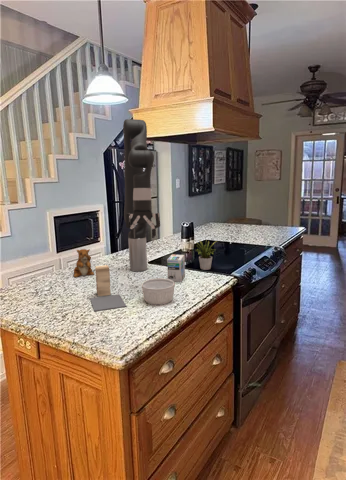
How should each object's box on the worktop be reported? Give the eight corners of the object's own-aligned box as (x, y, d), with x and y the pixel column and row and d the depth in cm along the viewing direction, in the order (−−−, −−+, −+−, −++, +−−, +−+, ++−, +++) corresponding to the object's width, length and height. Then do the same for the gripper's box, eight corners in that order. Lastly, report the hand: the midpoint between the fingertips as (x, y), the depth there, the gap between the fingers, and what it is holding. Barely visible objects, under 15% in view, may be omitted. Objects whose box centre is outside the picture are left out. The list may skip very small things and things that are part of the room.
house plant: (185, 270, 176) (185, 239, 173) (194, 264, 189) (194, 235, 186) (212, 273, 171) (212, 241, 168) (219, 266, 184) (219, 236, 181)
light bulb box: (181, 282, 158) (181, 259, 156) (167, 281, 159) (166, 259, 157) (185, 275, 168) (185, 254, 166) (171, 275, 170) (171, 254, 168)
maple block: (97, 293, 145) (95, 266, 143) (108, 292, 147) (107, 265, 144) (98, 297, 141) (96, 269, 138) (110, 295, 142) (109, 268, 140)
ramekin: (163, 308, 128) (162, 290, 127) (135, 302, 135) (134, 285, 133) (181, 297, 139) (180, 281, 138) (154, 292, 146) (154, 276, 144)
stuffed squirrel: (74, 278, 167) (72, 252, 165) (72, 270, 180) (71, 246, 178) (94, 276, 170) (93, 250, 168) (92, 269, 183) (90, 245, 181)
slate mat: (90, 298, 139) (90, 298, 139) (119, 294, 143) (119, 294, 143) (94, 311, 126) (94, 310, 126) (126, 306, 130) (126, 305, 130)
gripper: (160, 198, 145) (161, 236, 147) (128, 199, 147) (129, 236, 149) (157, 199, 137) (158, 239, 139) (123, 199, 140) (124, 238, 142)
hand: (143, 237), depth 144 cm, fingers open, 8 cm apart
